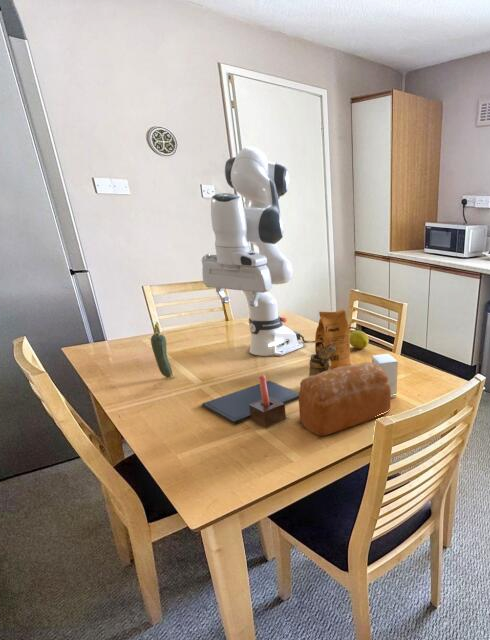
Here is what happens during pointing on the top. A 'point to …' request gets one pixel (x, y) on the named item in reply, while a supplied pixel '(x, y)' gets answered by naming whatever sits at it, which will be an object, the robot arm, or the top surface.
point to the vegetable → (161, 352)
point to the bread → (343, 397)
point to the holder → (267, 412)
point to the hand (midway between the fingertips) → (239, 304)
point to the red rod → (264, 390)
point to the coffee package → (334, 336)
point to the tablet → (247, 401)
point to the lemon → (358, 339)
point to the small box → (388, 369)
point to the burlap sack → (321, 360)
